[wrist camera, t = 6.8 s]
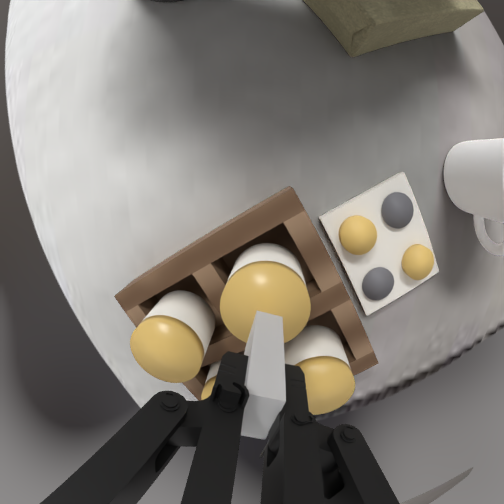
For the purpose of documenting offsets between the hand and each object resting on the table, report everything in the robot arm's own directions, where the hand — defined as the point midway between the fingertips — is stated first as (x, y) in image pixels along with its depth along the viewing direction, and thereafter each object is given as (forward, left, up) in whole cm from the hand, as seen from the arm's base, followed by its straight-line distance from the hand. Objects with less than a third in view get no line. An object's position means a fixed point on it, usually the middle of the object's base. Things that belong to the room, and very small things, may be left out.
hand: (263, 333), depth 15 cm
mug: (+4, +25, -13) cm, 28 cm away
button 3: (0, 0, -9) cm, 9 cm away
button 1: (0, -9, -9) cm, 12 cm away
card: (+4, +12, -13) cm, 18 cm away
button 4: (+9, 0, -9) cm, 12 cm away
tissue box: (-19, +28, -13) cm, 36 cm away
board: (+4, -4, -13) cm, 14 cm away
